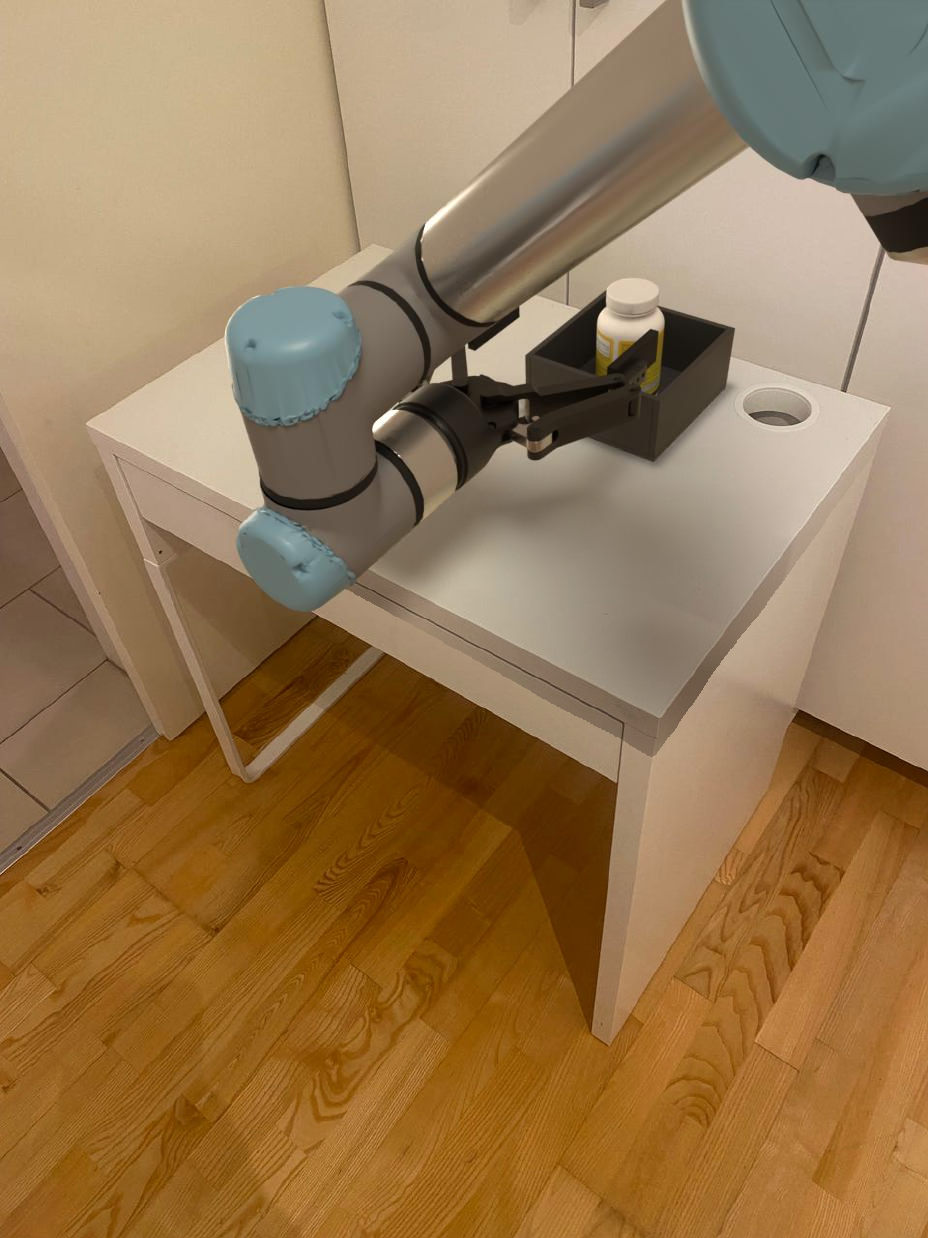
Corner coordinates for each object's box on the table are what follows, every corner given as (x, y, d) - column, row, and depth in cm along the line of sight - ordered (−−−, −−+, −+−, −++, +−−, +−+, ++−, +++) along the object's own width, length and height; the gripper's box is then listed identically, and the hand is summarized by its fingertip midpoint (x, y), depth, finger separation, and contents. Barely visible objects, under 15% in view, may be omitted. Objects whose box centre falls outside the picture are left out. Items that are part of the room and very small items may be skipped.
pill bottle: (668, 386, 94) (679, 281, 86) (641, 419, 91) (650, 313, 83) (611, 371, 97) (616, 267, 89) (583, 402, 93) (586, 297, 85)
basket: (726, 387, 94) (735, 327, 90) (653, 461, 87) (659, 401, 82) (602, 347, 101) (605, 289, 96) (525, 413, 94) (524, 354, 89)
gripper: (308, 439, 78) (467, 323, 89) (565, 555, 66) (711, 405, 77) (289, 357, 72) (461, 244, 83) (567, 469, 61) (723, 321, 72)
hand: (582, 322), depth 80 cm, fingers open, 13 cm apart
